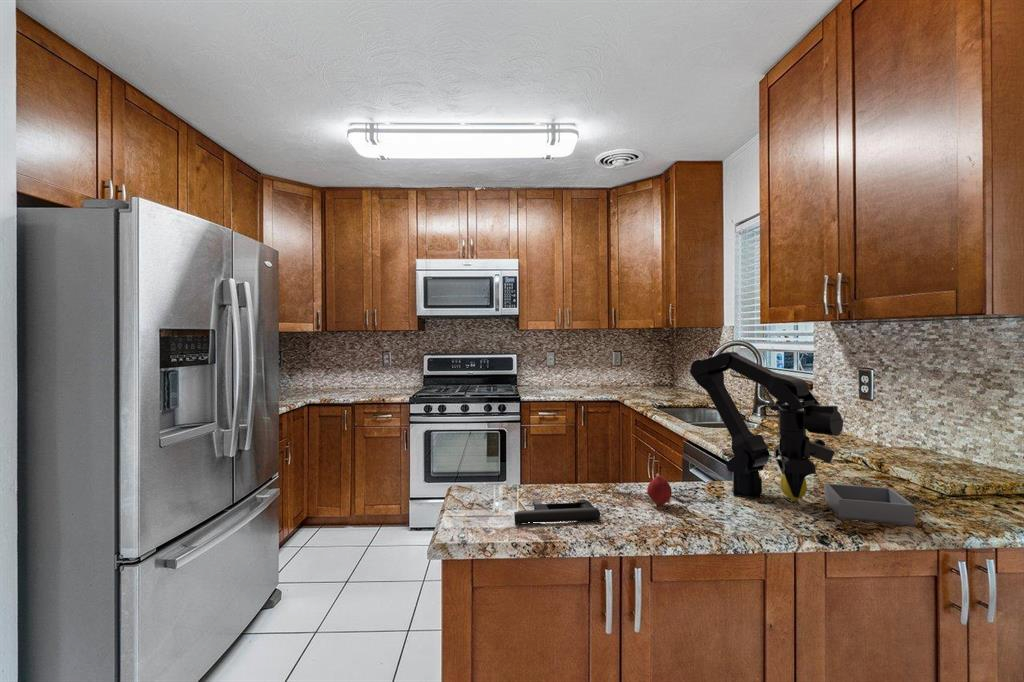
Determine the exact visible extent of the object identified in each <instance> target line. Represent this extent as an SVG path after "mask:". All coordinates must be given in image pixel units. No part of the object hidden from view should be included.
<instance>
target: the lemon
mask: <svg viewBox="0 0 1024 682" xmlns="http://www.w3.org/2000/svg"><path fill="white" fill-rule="evenodd" d="M780 488H781V490H782V493H783V494H784V495H785V497H787V498H789V499H790V500H791V501H793V502H796V501H798V500H801V499H803V497H805V495H806V493H807V491H808V490H807V489H808V484H807V481H806V477H805V478H804V480H803V484H802V487H801V491H800V495H799V497H798V498H796V497H793V495H792V492H791V490H790V487H789V485H788V483H787V480H786V478H785V475H784V474H783V475H781V479H780Z"/></svg>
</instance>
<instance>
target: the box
mask: <svg viewBox="0 0 1024 682" xmlns="http://www.w3.org/2000/svg"><path fill="white" fill-rule="evenodd" d="M823 484H824V485H823V487H824V488H823V489H824V495H823V496H824V502H825V504H828V505H829V506H828V505H827V506H828V507H829V508H830V509H832V510H833V511H832V510H831V511H832V512H833V514H834V515H835V514H836V515H837V516H836V515H835V516H836V517H837V518H838V519H845V520H844V521H850V520H858V521H857V522H861V521H867V522H866V523H871V522H876V523H875V524H882V523H885V524H884V525H893V524H895V525H896V526H904V525H909V526H908V527H916V515H915V513H916V512H915V510H916V509H915V508H916V507H915V505H914V504H913V503H911V501H909V500H908V499H906V498H905V497H904V496H902V495H901V494H900V493H898V492H897V491H896V490H895V489H894V488H892V487H883V486H873V485H872V486H870V485H869V486H868V485H867V486H866V485H858V484H856V485H855V484H844V483H843V484H841V483H829V482H828V483H826V482H824V483H823Z"/></svg>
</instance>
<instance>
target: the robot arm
mask: <svg viewBox="0 0 1024 682" xmlns="http://www.w3.org/2000/svg"><path fill="white" fill-rule="evenodd" d="M728 370H732V371H734V372H735V373H738V374H740V375H741V376H743V377H745V378H747V379H749V380H751V381H752V382H755V383H757V384H758V385H760V386H762V387H763V388H765V389H766V391H767V393H768V394H770V395H771V396H772V397H773V398H775V399H776V401H775V403H774V404H772V405H771V406H770V407H769V409H770V410H771V411H778V425H779V426H778V430H779V431H778V432H777V436H778V438H779V441H778V442H779V444H777V445H776V446H775V447H774V448H773V456H774V458H776V459H775V460H776V463H777V465H778V467H779V471H780V472H781V474H782V475H783V474H784V475H785V478H786V480H787V483H788V485H789V487H790V490H791V492H792V495H793V497H796V498H798V497H799V495H800V491H801V487H802V484H803V480H804V478H805V479H806V477H808V476H809V475H816V474H817V471H816V469H817V467H816V464H814V462H813V461H811V457H813V458H815V459H817V460H821V461H823V462H824V463H826V464H831V462H832V460H833V457H834V455H835V453H836V451H835V450H834V449H833V448H831V447H829V446H826V443H825V440H822V439H819V438H815V439H814V440H810V437H809V436H808V434H807V431H808V432H809V433H812V434H819V435H826V436H834V437H838V436H839V435H841V433H842V431H843V427H844V419H843V418H842V414H841V413H840V412H839V411H838V406H837V405H821V404H820V403H819V401H818V400H817V398H816V397H815V396H814V395H813V393H812V392H811V390H810V388H809V384H808V382H807V381H806V380H804V379H802V378H799V377H795V376H792V375H788V374H782V373H779V372H775V371H773V370H771V369H769V368H767V367H765V366H763V365H762V364H761V365H760V364H759V363H757V362H755V361H752V360H750V359H749V358H746V357H745V356H743V355H740V354H739V353H738V352H737V351H736V352H735V351H724V352H721V353H720V354H717V355H715V356H711V357H707V358H705V359H695V360H694V361H693V362H692V363H691V365H690V368H689V373H690V375H691V377H692V378H693V380H694V381H695V382H696V383H697V385H699V387H701V388H703V390H705V391H706V392H707V394H708V395H709V397H710V399H711V402H712V403H713V406H714V407H715V409H716V412H717V413H718V414H719V416H720V418H721V420H722V422H723V425H724V426H725V428H726V429H727V432H728V433H729V435H730V437H731V451H732V454H733V456H732V457H731V458H730V459H729V460H728V461H727V462H726V463H725V465H726V469H727V471H728V472H731V473H732V488H731V489H732V495H733V496H735V497H745V498H746V497H747V498H757V499H760V498H761V497H762V494H763V481H762V480H763V479H762V476H761V475H760V472H759V471H763V470H764V468H765V466H766V464H767V463H768V461H769V459H770V457H771V455H770V452H769V449H770V446H768V445H767V443H766V442H765V440H764V437H763V436H762V434H754V433H752V432H751V431H750V429H749V428H748V425H747V424H746V422H745V420H744V418H743V416H742V414H741V413H740V412H739V409H738V408H737V406H736V404H735V403H734V400H733V398H732V396H731V395H730V393H729V391H728V390H727V388H726V386H725V374H724V372H727V371H728ZM782 475H781V476H782Z"/></svg>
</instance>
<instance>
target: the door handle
mask: <svg viewBox="0 0 1024 682" xmlns="http://www.w3.org/2000/svg"><path fill="white" fill-rule="evenodd" d="M532 505H533V509H532V510H530V509H528V510H527V509H526V510H518V511H514V512H513V514H514V515H513V516H514V524H518V523H528V522H530V523H533V522H560V521H561V522H563V521H565V522H568V521H571V522H572V521H573V522H574V521H584V522H596V521H595V520H597V521H599V520H600V519H601V511H600V510H599V509H598V507H595V506H594V505H593V504H592V503H591V502H590V501H589V500H587V499H580V500H578V501H577V502H563V503H562V502H561V503H559V502H558V503H542V501H541V500H540V498H533V499H532ZM593 520H594V521H593Z"/></svg>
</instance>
